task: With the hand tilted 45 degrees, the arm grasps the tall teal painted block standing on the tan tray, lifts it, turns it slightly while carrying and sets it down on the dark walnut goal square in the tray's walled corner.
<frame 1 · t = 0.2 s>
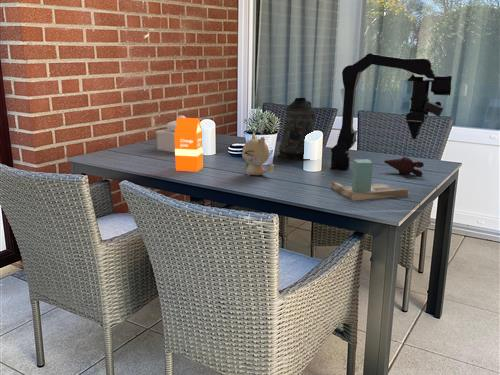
hand: (415, 137, 184), 14 cm above the table, tool pointing down, fingers open, 9 cm apart
block: (361, 190, 165), resting on tan tray
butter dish: (183, 149, 234), on the table
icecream: (402, 174, 189), on the table
orange juice: (189, 169, 196), on the table
tan tray: (385, 191, 166), on the table
kitten: (254, 174, 188), on the table
dark translucent jar: (297, 155, 221), on the table
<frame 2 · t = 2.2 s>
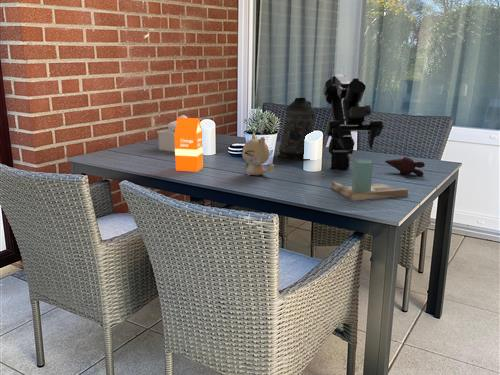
hand: (357, 148, 169), 13 cm above the table, tool tilted 45°, fingers open, 9 cm apart
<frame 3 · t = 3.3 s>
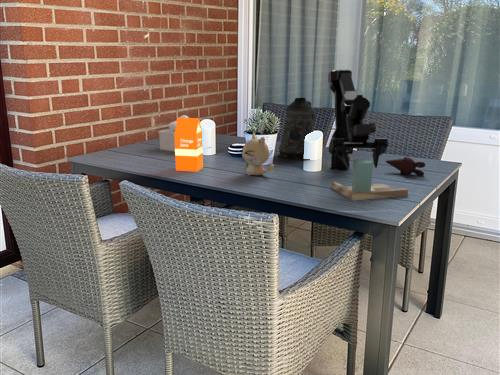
hand: (362, 167, 164), 8 cm above the table, tool tilted 45°, fingers open, 9 cm apart
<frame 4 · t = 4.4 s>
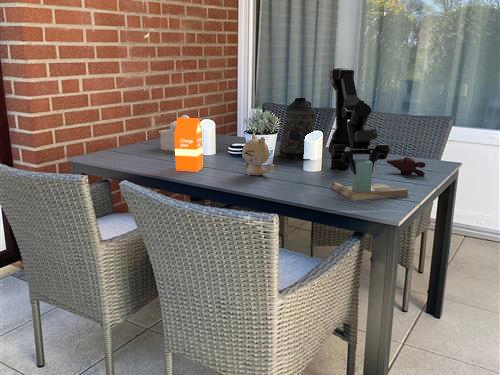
hand: (363, 173, 162), 7 cm above the table, tool tilted 45°, fingers closed on block, 5 cm apart
block: (361, 190, 165), resting on tan tray, touching gripper
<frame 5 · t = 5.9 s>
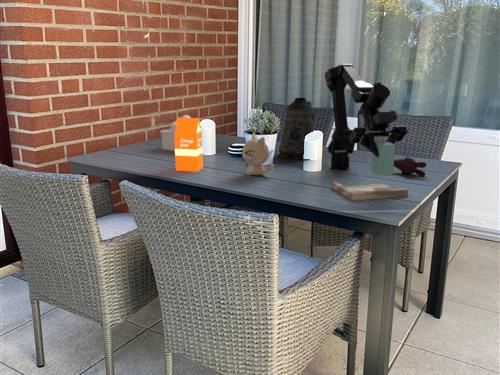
hand: (385, 156, 161), 12 cm above the table, tool tilted 45°, fingers closed on block, 5 cm apart
block: (382, 173, 164), point 6 cm above the table, touching gripper
when the fingers open (7 cm above the table, at t = 7.4 s): block stays where it is, resting on tan tray.
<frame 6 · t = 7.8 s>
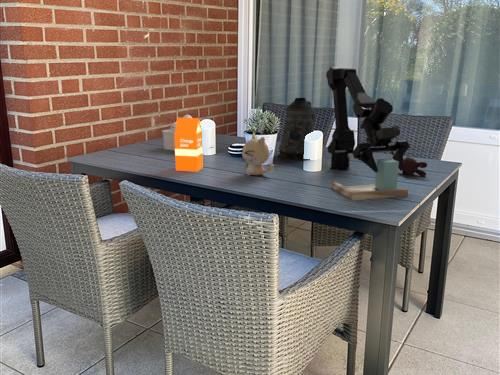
hand: (389, 171, 163), 7 cm above the table, tool tilted 45°, fingers open, 9 cm apart
block: (385, 189, 166), point 1 cm above the table, touching tan tray
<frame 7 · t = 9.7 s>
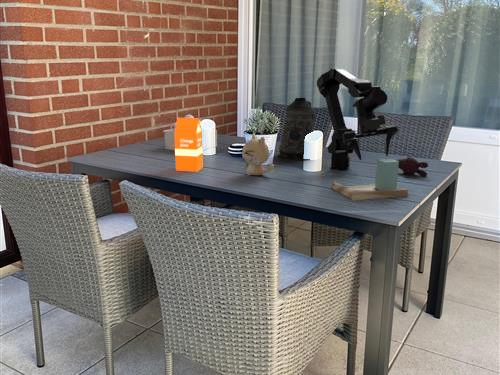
hand: (373, 157, 173), 9 cm above the table, tool tilted 25°, fingers open, 9 cm apart
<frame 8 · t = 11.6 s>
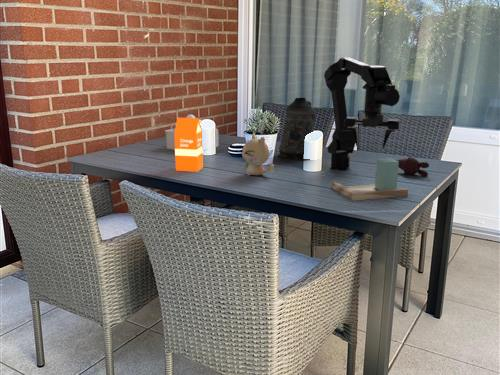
hand: (370, 147, 177), 12 cm above the table, tool pointing down, fingers open, 9 cm apart
at the end: block inside the target area on the tan tray (0.0 cm from its centre), point 0.6 cm above the tan tray's base; block tilted 0°; the gripper is holding nothing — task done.
